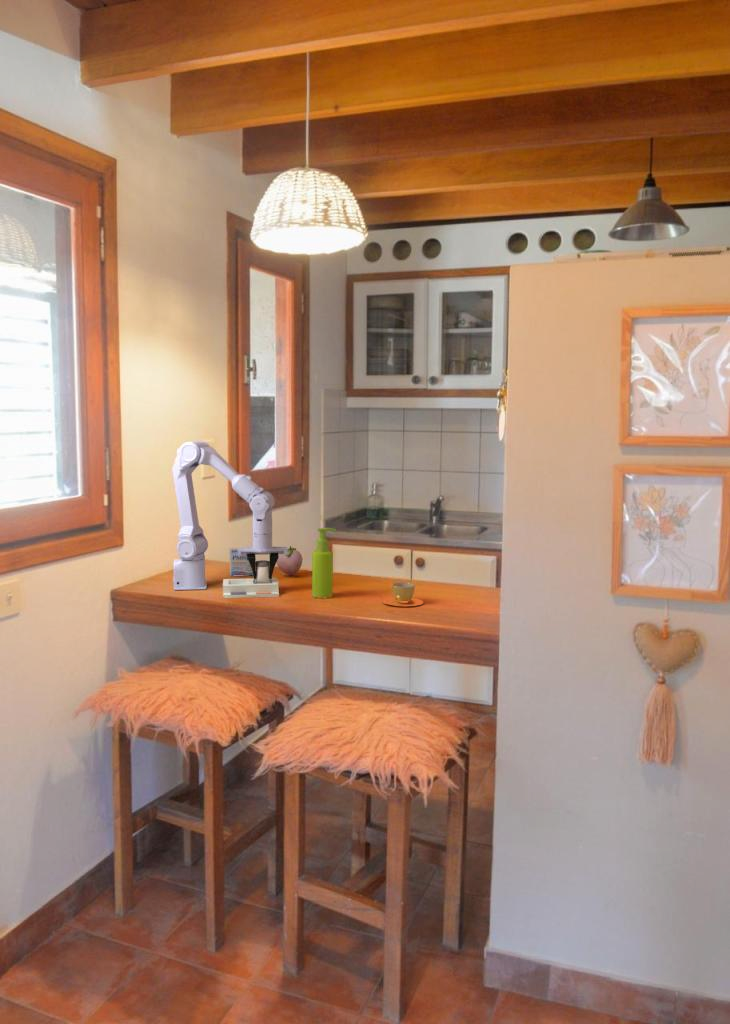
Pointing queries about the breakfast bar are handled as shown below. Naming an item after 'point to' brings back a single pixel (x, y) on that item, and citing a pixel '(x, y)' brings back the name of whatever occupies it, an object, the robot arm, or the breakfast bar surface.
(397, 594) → the cup
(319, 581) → the soap dispenser
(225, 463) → the robot arm
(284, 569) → the decorative fruit
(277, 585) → the socket block
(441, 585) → the breakfast bar surface
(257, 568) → the white pill bottle
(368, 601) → the breakfast bar surface
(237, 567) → the medicine box
